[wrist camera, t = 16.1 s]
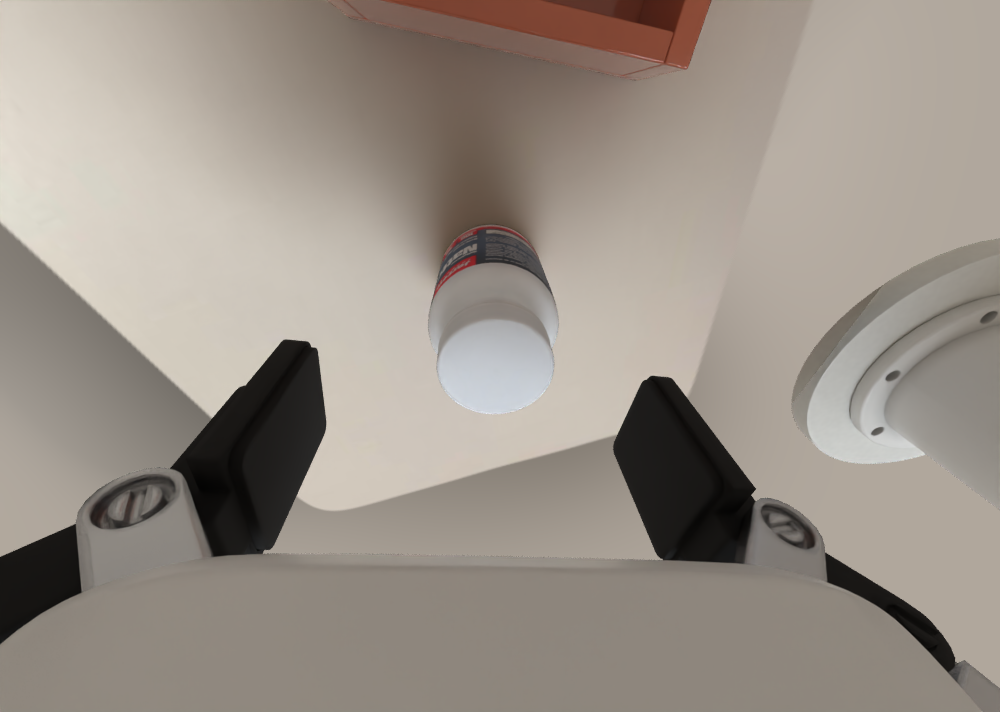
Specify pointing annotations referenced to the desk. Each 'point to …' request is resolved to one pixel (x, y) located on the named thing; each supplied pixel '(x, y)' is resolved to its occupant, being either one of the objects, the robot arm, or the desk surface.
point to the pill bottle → (493, 321)
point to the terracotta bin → (556, 29)
